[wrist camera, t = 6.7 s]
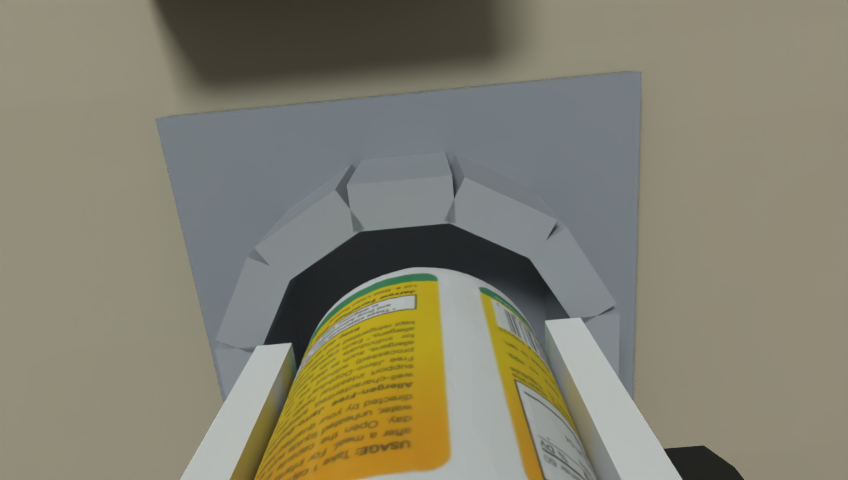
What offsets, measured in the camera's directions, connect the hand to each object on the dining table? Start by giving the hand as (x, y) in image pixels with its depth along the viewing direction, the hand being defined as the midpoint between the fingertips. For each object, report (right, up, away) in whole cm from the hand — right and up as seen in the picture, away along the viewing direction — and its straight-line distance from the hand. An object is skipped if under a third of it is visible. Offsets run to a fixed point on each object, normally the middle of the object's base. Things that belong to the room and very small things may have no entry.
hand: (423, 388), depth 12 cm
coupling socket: (0, +1, +4) cm, 4 cm away
